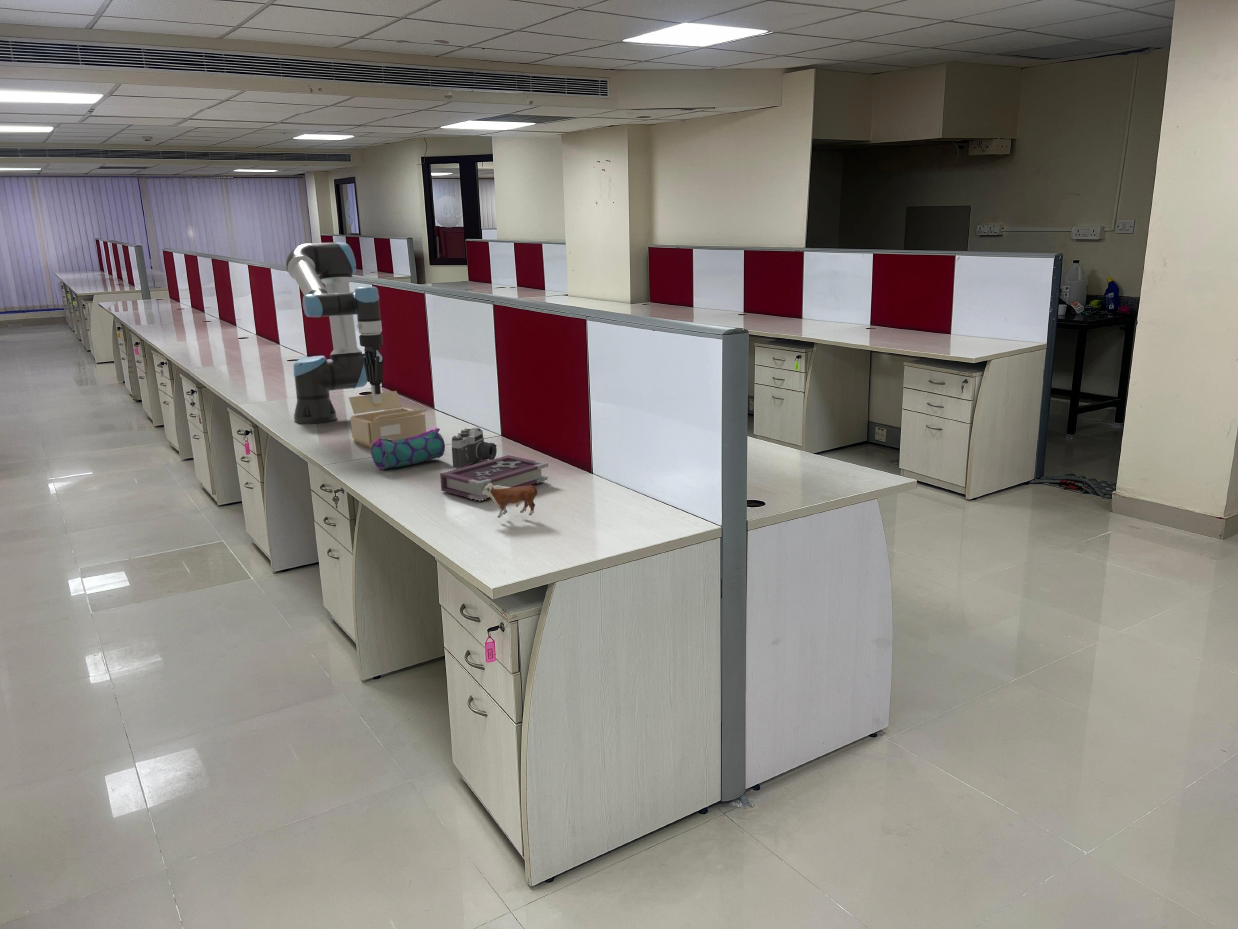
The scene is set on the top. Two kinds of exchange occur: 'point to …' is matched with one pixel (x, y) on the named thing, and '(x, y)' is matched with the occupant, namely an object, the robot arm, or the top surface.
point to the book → (492, 476)
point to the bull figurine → (511, 496)
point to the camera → (471, 448)
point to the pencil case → (407, 450)
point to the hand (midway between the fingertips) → (377, 403)
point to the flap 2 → (400, 414)
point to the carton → (386, 426)
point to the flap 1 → (366, 404)
